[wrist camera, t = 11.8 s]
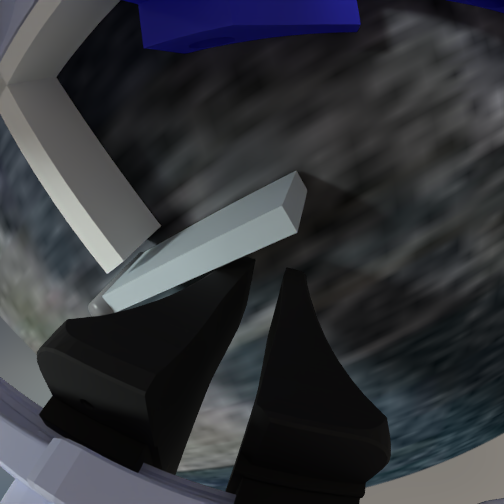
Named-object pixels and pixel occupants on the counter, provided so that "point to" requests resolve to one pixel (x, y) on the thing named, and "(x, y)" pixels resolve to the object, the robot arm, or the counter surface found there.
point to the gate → (208, 244)
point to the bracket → (69, 132)
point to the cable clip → (247, 20)
